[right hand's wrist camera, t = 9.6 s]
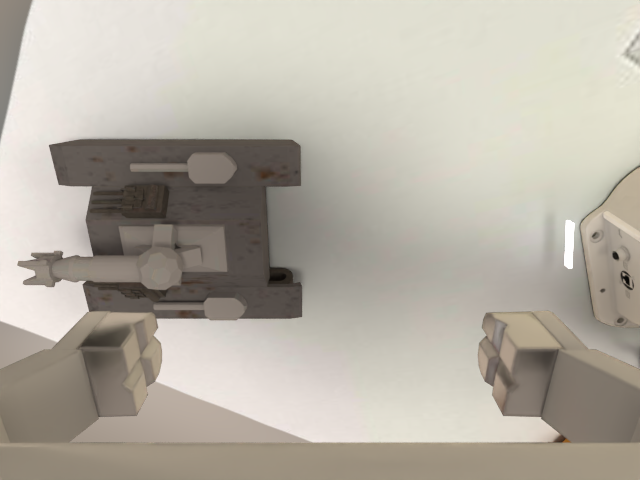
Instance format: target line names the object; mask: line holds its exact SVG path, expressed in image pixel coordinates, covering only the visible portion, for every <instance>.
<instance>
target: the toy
mask: <svg viewBox="0 0 640 480" xmlns="http://www.w3.org/2000/svg"><path fill="white" fill-rule="evenodd" d="M49 147H50V151H51V155H52V159H53V163H54V167H55V171H56V175H57V179H58V183H59V185H65V186H92V191H91V196H90V201H89V206H88V211H87V216H86V223H87V228H88V233H89V237H90V242H91V247H92V251H93V257H80V256H78V255H75V256H71V257H67V258H62V255H63V252H62V251H54V253H32V254H31V256H33V257H34V258H36V259H34V260H29V261H18V266H20V267H24V268H27V269H31V270H34V271H35V275H36V276H34V277H31V278H29V279H27V280H24V281H23V284H24V285H45V286H47V287H54V286H55V282H59V281H61V280H62V279H64V280H68V281H72V282H78V281H86V282H85V283H84V284H83V288H84V292H85V296H86V300H87V304H88V308H89V312H92V311H111V312H112V311H125V312H152V313H153V314H154V315H155V316H156V318H208V319H210V320H237V319H290V318H298V317H302V285H301V283H293V275H292V273H291V271H289V270H287V269H283V268H269V250H268V229H267V208H266V187H265V186H301V162H300V145H299V144H297V143H296V142H294V141H293V140H75V141H69V142H63V143H58V144H52V145H49Z"/></svg>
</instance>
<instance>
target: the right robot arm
mask: <svg viewBox="0 0 640 480" xmlns="http://www.w3.org/2000/svg"><path fill="white" fill-rule="evenodd" d="M580 230H581V236H582V243H583V249H584V255H585V261H586V268H587V274H588V280H589V286H590V293H591V299H592V305H593V311H594V316H595V318H596V319H597V320H599V321H600V322H602V323H604V324H607V325H610V326H615V327H623V328H638V327H640V167H639V168H637V169H636V170H634V171H633V172H632V173H630V174H629V175H628V176H627V177H625V178H624V179H623V180H622V181H621V182H620V183H619V184H618V186H617V187H616V188H615V189H614V190H613V192H612V193H611V195H610V196H609V197H608V199H607V200H606V201H605V202H604V204H603V205H602V206H600V207H599V208H598V209H596V210H595V211H593V212H592V213H591V214H589V215H588V216H587V217H586V218H585V219H584V220H583V221H582V223H581V226H580ZM594 233H596V234H595V236H593V237H592V235H593V234H594ZM573 235H574V223H573V222H571V221H569V220H568V221H566V242H565V266H567V267H568V268H569V269H570V268H572V257H573ZM157 329H158V325H157V320H156V316H155V315H154V314H153V313H152V312H125V311H112V312H111V311H92V312H87V313H86V314H85V315H84V316H83V317H82V318H81V319H80V320H79V321H78V322H77V323H76V324H75V326H74V327H73V328H72V329H71V330H70V331H69V332H68V333H67V334H66V335H65V336H64V337H63V338H62V339H61V340H60V341H59V342H58V343H57V344H56V345H55V346H54V347H53V348H52V349H48V350H47V349H46V350H42V351H40V352H38V353H35V354H33V355H31V356H29V357H26V358H24V359H22V360H20V361H18V362H15V363H13V364H11V365H9V366H7V367H4V368H2V369H0V480H640V369H638V368H636V367H633V366H631V365H629V364H627V363H625V362H622V361H620V360H618V359H616V358H613V357H611V356H609V355H607V354H605V353H602V352H600V351H598V350H594V349H588V348H587V347H586V346H585V345H584V344H583V343H582V342H581V341H580V340H579V339H578V338H577V337H576V336H575V335H574V334H573V333H572V332H571V331H570V330H569V328H568V327H567V326H566V325H565V324H564V323H563V322H562V321H561V320H560V319H559V318H558V317H557V316H556V315H555V314H554V313H552V312H550V311H530V312H491V313H486V314H485V317H484V319H483V324H482V329H483V330H484V332H485V333H486V335H487V336H486V337H485V338H484V339H483V340H482V341H481V342H480V343H479V349H478V363H479V368H480V372H481V375H482V377H483V379H484V380H485V382H487V383H488V384H490V385H491V386H493V392H492V396H493V397H494V399H495V401H496V403H497V405H498V407H499V409H500V410H501V412H502V414H503V416H526V417H541V419H542V420H544V421H545V422H546V423H547V424H549V425H550V426H551V427H552V428H554V429H555V430H556V431H558V432H559V433H560V434H561V435H563V436H564V437H565V438H566V439H568V440H569V441H570V442H571V443H69V442H70V441H71V440H72V439H74V438H75V437H76V436H77V435H79V434H80V433H81V432H83V431H84V430H85V429H86V428H88V427H89V426H90V425H91V424H93V423H94V422H95V421H97V420H98V419H99V418H98V417H114V416H137V414H138V412H139V410H140V409H141V407H142V405H143V403H144V401H145V399H146V397H147V396H148V392H147V386H149V385H150V384H152V383H153V382H155V380H156V378H157V376H158V374H159V372H160V368H161V363H162V348H161V343H160V342H159V341H158V340H157V339H156V338H155V337H154V336H153V335H154V333H155V332H156V330H157Z"/></svg>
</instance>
